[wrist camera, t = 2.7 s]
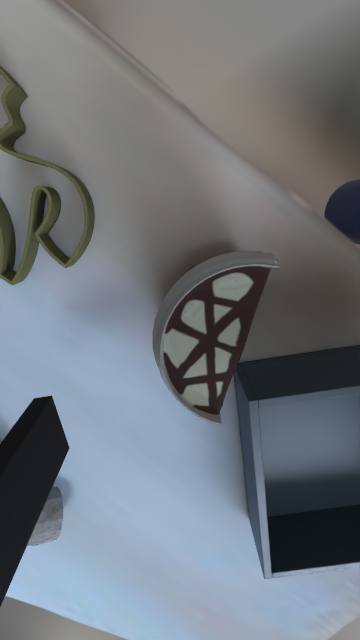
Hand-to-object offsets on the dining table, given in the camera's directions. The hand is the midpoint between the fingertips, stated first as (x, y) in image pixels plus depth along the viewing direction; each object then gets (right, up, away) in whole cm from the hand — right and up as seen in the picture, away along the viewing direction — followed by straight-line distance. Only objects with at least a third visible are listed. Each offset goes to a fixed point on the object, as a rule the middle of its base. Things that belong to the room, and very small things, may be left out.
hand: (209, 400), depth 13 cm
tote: (+14, -10, +21) cm, 27 cm away
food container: (0, +5, +16) cm, 17 cm away
